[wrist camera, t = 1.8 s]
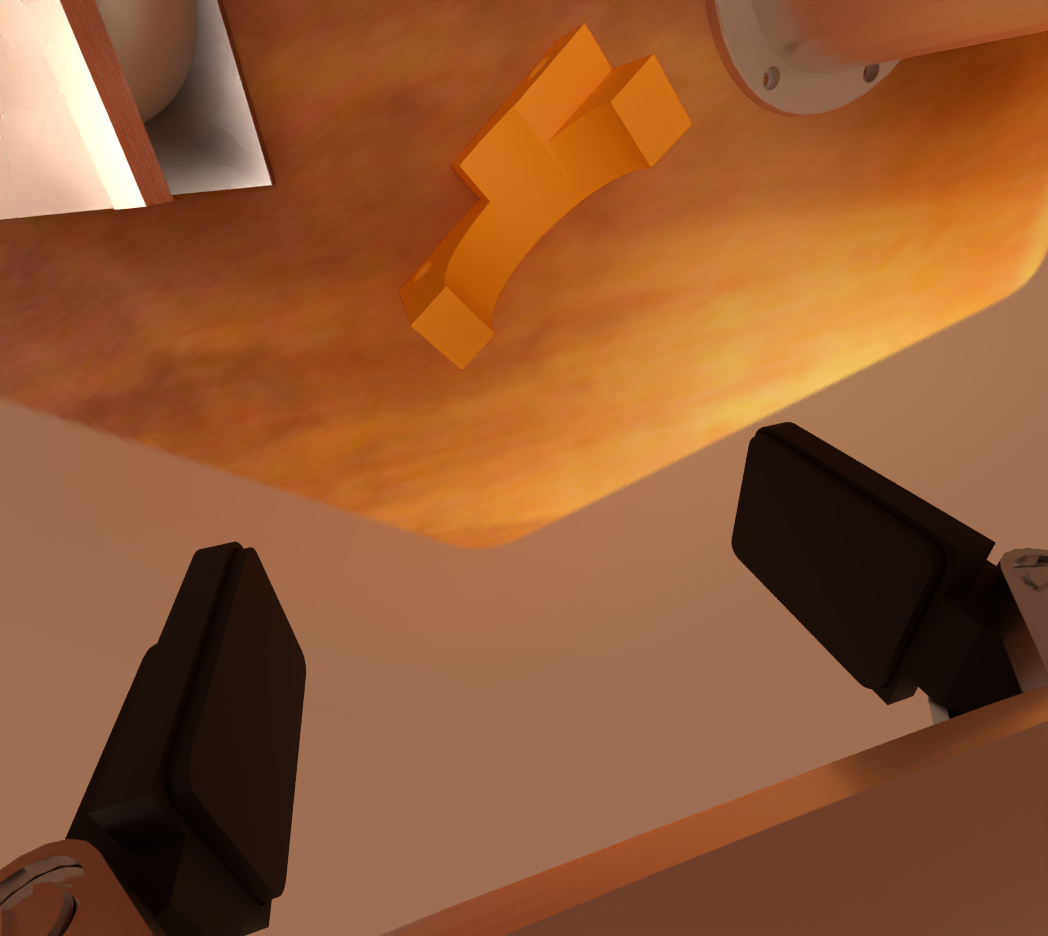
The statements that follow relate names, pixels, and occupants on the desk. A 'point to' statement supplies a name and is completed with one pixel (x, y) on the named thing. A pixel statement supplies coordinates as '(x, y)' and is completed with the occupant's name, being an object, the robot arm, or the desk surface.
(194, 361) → the desk surface
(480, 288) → the pipe clamp
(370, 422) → the desk surface
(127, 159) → the cylinder with tray top
